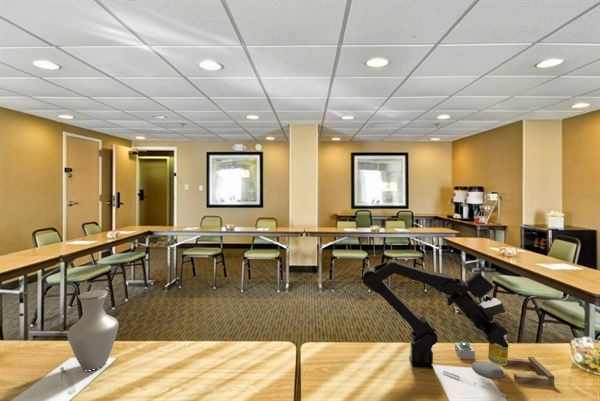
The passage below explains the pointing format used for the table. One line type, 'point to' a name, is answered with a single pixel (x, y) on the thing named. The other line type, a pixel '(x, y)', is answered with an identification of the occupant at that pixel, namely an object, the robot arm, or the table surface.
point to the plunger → (464, 345)
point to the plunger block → (464, 352)
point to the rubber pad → (488, 369)
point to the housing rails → (540, 370)
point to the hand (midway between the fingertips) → (503, 342)
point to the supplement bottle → (498, 354)
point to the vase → (93, 332)
